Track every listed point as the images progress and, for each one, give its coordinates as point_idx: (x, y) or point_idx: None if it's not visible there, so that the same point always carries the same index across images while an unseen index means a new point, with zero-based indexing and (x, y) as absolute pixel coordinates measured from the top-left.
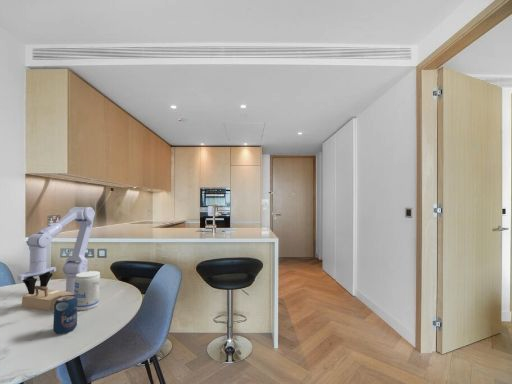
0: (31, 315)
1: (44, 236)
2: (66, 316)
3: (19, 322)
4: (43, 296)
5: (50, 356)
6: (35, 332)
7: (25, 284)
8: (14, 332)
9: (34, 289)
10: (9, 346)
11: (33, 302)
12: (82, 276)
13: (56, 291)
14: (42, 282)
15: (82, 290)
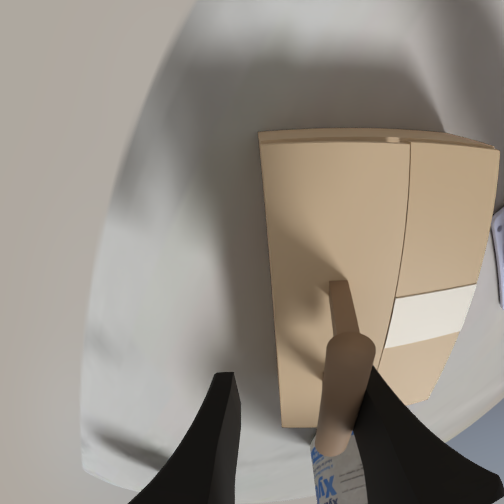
0: (196, 354)
1: None
2: None
3: (131, 372)
4: (322, 361)
5: (137, 486)
6: (145, 446)
7: (157, 477)
8: (103, 411)
9: (235, 451)
10: (88, 440)
11: (272, 287)
12: None
13: (449, 318)
14: (376, 452)
15: None
